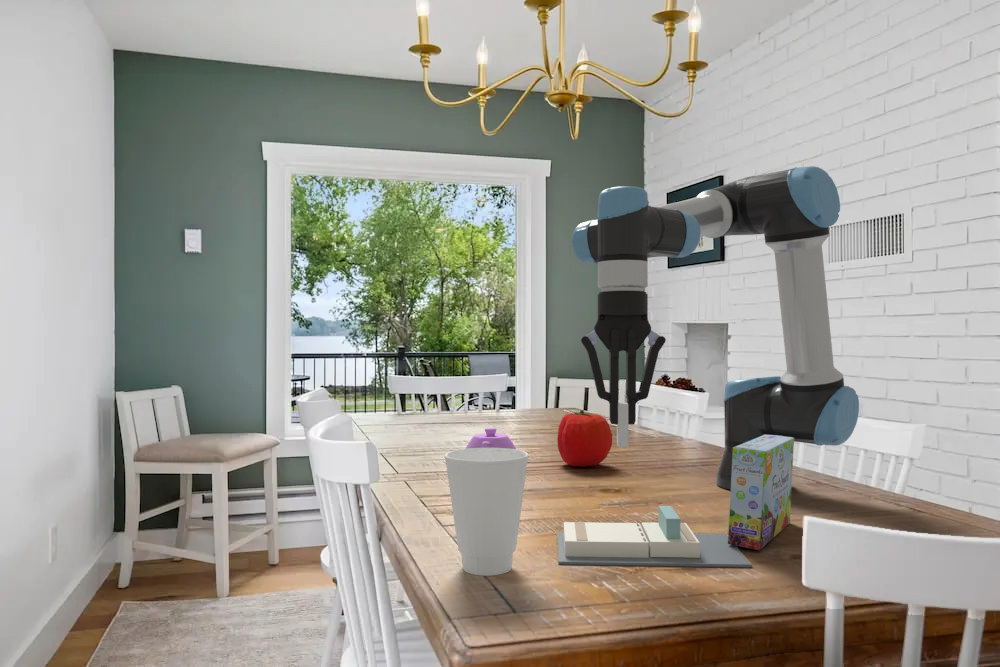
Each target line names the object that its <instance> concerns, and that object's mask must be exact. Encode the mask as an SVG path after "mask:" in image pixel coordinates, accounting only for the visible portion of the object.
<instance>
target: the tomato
mask: <svg viewBox="0 0 1000 667" xmlns="http://www.w3.org/2000/svg"><path fill="white" fill-rule="evenodd" d="M566 411H568V412H570V413H569V414H565V415H563V417H562V418H561V420H560V422H559V425H558V430H557V438H556V439H557V449H558V452H559V456H560V457H561V459H562V461H563V462H564V463H565V464H567V465H568V466H572V467H584V468H585V467H586V468H587V467H593V466H597V465H599V464H601V463H602V462H603V461H604V460H605V459H606V458H607V457H608V455H609V453H610V451H611V450H612V446H613V433H612V430H611V427H610V425H609V422H608V420H607V419H606V418H605V417H604V416H602V415H601V414H598V413H591V412H585V410H584V409H580V410H579V411H578V412H577V411H571V410H567V409H566Z"/></svg>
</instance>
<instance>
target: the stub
mask: <svg viewBox="0 0 1000 667" xmlns="http://www.w3.org/2000/svg"><path fill="white" fill-rule="evenodd" d="M640 525H641V527H642V530H643V532H644V534H645V536H646V538H647V540H648V548H649V554H650V557H684V558H700V542H699V541H698V539H697V538H696V536H695V535H694V534H693V533H694V532H693V531H692V530H691V528H690V526H689V525H688V524H687V522H681V518H680V516H679V515H678V513H677V512H676V510H675V509H674V507H673V506H672V505H658V522H641V523H640Z"/></svg>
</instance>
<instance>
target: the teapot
mask: <svg viewBox="0 0 1000 667" xmlns="http://www.w3.org/2000/svg"><path fill="white" fill-rule="evenodd" d="M497 430H498V429H497V428H495V427H485V429H484V433H478V434H475V435H473V436H472V437H471V439H470V441H469V442H468V444H467V445H466V447H465V449H469V448H507V449H516V450H517V448H516V446H515V444H514V443H513V441H512V440H511V437H510V436H508V435H507V434H504V433H497Z"/></svg>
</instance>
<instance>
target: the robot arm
mask: <svg viewBox="0 0 1000 667" xmlns="http://www.w3.org/2000/svg"><path fill="white" fill-rule="evenodd" d="M649 203H650V201H649V199H648V192H647V191H646V190H645V189H644V188H642V187H638V186H631V185H630V186H628V185H627V186H624V185H623V186H614V187H610V188H606V189H604V190H602V191H601V192H600V193H599V196H598V203H597V213H596V214H597V215H596V219H591V220H588V221H584V222H581V223H579V224H578V225H577V226H576V227H575V228H574V230H573V233H572V237H571V244H572V246H571V247H572V250H573V253H574V255H575V257H576V258H577V259H578V260H579V261H581V262H583V263H585V264H596V265H597V288H598V289H600V290H601V292H600V291H598V294H597V320H596V322H595V325H594V328H593V329H594V330H592V331H591V332H589V333H588V334H586V335H584V336H581V337H580V343H581V345H582V347H583V348H584V349H585V350H586V352H587V356H588V357H587V358H588V360H589V364H590V369H591V372H592V376H593V380H594V386H595V389H596V394H597V396H598V398H599V399H601V400H605V401H607V402H608V403H609V422H610V424H611V425H616V446H617V447H618V448H629V425H635V424H636V421H637V420H636V419H637V418H636V416H637V415H636V414H637V413H636V412H637V410H636V408H637V405H636V404H637V403H638V402H639V401H642V400H645V399H647V398H648V397H649V394H650V390H651V384H652V381H653V376H654V373H655V369H656V365H657V362H658V361H657V360H658V356H659V353H660V352H659V351H660V350H661V349H662V348H663V346H664V345H665V343H666V341H667V339H666V337H665V336H662V335H659V334H658V333H656V332H655V331H653V330H652V326H651V324H650V322H649V318H648V317H649V316H648V315H649V314H648V313H649V312H648V310H649V308H648V305H649V303H648V302H649V301H648V300H649V299H648V296H649V294H648V293H647V291H645V290H644V289H646V288H647V287H649V286H648V283H649V279H648V278H649V275H648V274H649V273H648V272H649V271H648V270H649V269H648V267H649V266H648V259H649V258H650V259H651V258H659V257H668V258H669V259H674V258H686V257H688V256H690V255H691V254H692V253H694V251H695V250H696V249H697V248H698V245H699V244H700V241H701V237H705V238H709V239H716V238H720V237H728V236H754V235H755V236H756V235H764V242H765V245H766V246H767V247H769V248H770V249H771V250H773V252H774V260H775V270H776V280H777V286H778V289H777V291H778V297H779V299H778V300H779V307H780V316H781V326H782V335H783V345H784V353H785V364H786V371H785V373H784V374H783V375H782V376H780V375H778V376H777V375H776V376H766V377H765V376H764V377H752V378H743V379H735V380H729V381H728V382H727V383H726V384H725V387H724V397H723V398H724V399H723V403H724V406H723V407H724V408H723V410H724V411H723V412H724V449H723V450H724V451H723V453H722V456H721V460H720V462H719V466H718V468H717V471H716V475H715V476H716V485H717V486H718V487H720V488H723V489H727V490H730V491H731V476H732V455H733V447H736V446H738V445H741V444H743V443H746V442H748V441H751V440H753V439H755V438H758V437H760V436H763V435H778V436H785V437H793V438H794V443H795V442H796V443H802V444H803V443H804V444H811V445H816V446H832V447H833V446H835V447H836V446H840V445H842V444H844V443H846V442H847V441H848V439H850V438H851V436H852V434H853V433H854V431H855V428H856V426H857V423H858V419H859V413H860V402H859V401H860V400H859V395H858V394H857V391H856V390H855V389H854V388H852V387H850V386H849V385H845V380H844V374H843V373H842V372H841V371H840V370H838V369H837V368H835V365H834V363H835V362H834V354H833V343H832V335H831V326H830V316H829V315H830V314H829V305H828V303H829V302H828V295H827V286H826V284H827V283H826V274H825V264H824V254H823V252H824V251H823V246H822V245H823V244H824V242H825V241H826V240H827V239H828V238H829V237H830V227H832V226H834V225H835V224H836V223H837V222H838V219H839V217H840V215H839V213H840V211H841V202H840V195H839V192H838V187H837V186H836V184H835V181H834V180H833V178H832V177H831V176H830V175H829V174H828V172H827V171H825V170H824V169H823V168H821V167H819V166H813V165H811V166H803V167H797V166H796V167H793V168H789V169H784V170H779V171H774V172H773V171H772V172H768V173H762V174H758V175H752V176H747V177H744V178H740V179H738V180H734V181H731V182H729V183H726V184H723V185H720V186H717V187H714V188H710V189H706V190H703V191H702V192H700V193H699V194H698V195H696V196H695V197H693V198H690V199H684V200H681V201H677V202H672V203H667V204H661V205H659V206H651V205H649ZM597 337H598V338H599V340H600V341H601V343H602V344H603V345H604V346H605V348H606V349H607V350H608V357H609V362H608V363H609V364H608V365H609V366H608V367H609V370H608V371H609V373H608V377H609V380H608V381H609V382H608V383H609V384H608V386H609V387H608V391H607V390H606V386H605V383H604V379H603V378H604V377H603V374H602V371H601V366H600V362H599V357H598V354H597V349H596V348H595V347H596V346H597V345H598V342H597ZM647 338H648V341H647V345H648V346H649V348H648V351H647V355H646V359H645V364H644V367H643V371H642V374H641V375H642V377H641V380H640V384H639V388H638V391H637V350H639V349H640V347H641V346H642V345H643V343H644V342H645V340H646V339H647ZM622 351H624V352H625V364H626V366H625V368H626V369H625V370H626V371H625V376H626V377H625V380H626V382H625V386H626V388H625V389H626V392H625V395H626V396H625V398H626V402H625V401H624V402H623V401H622V402H621V401H619V398H620V397H619V390H620V388H619V387H620V386H619V379H620V378H619V377H620V376H619V374H620V371H619V369H620V367H619V365H620V364H619V361H620V360H619V359H620V352H622Z"/></svg>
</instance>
